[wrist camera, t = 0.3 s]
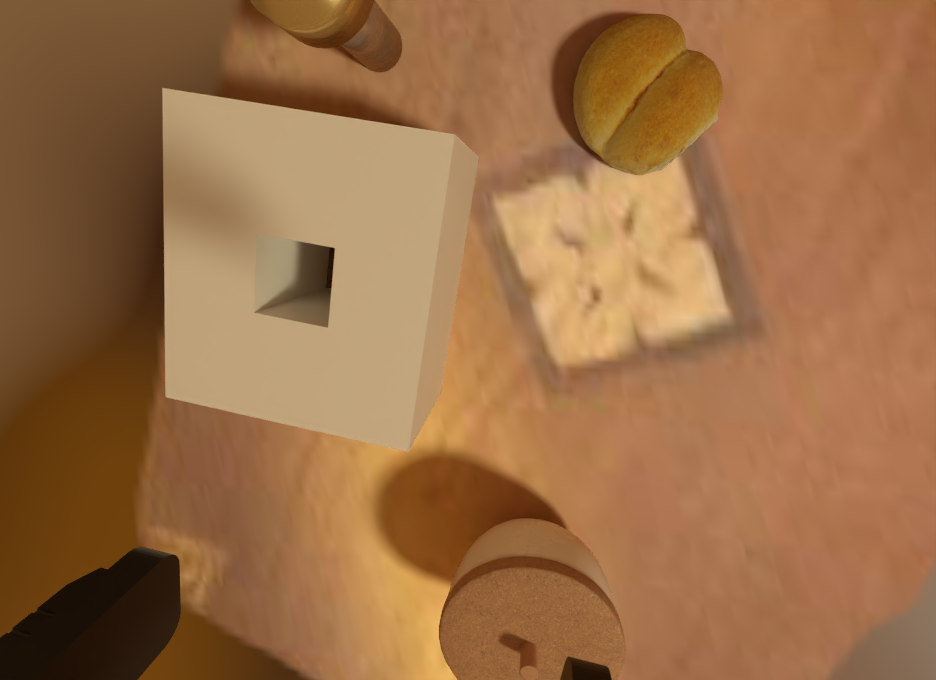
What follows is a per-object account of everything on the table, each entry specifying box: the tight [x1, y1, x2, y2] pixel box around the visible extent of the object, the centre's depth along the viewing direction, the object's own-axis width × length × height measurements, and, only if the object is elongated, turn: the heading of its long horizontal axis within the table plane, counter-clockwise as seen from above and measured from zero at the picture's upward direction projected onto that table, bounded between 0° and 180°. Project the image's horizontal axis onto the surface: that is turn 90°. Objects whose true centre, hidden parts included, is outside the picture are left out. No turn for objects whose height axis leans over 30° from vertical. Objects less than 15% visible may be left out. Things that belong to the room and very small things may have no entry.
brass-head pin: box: [249, 0, 402, 72], centre depth 27 cm, size 6×6×12 cm
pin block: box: [162, 88, 479, 452], centre depth 32 cm, size 18×16×10 cm
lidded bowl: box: [439, 518, 625, 680], centre depth 36 cm, size 13×13×11 cm
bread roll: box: [573, 14, 723, 175], centre depth 30 cm, size 8×9×4 cm
